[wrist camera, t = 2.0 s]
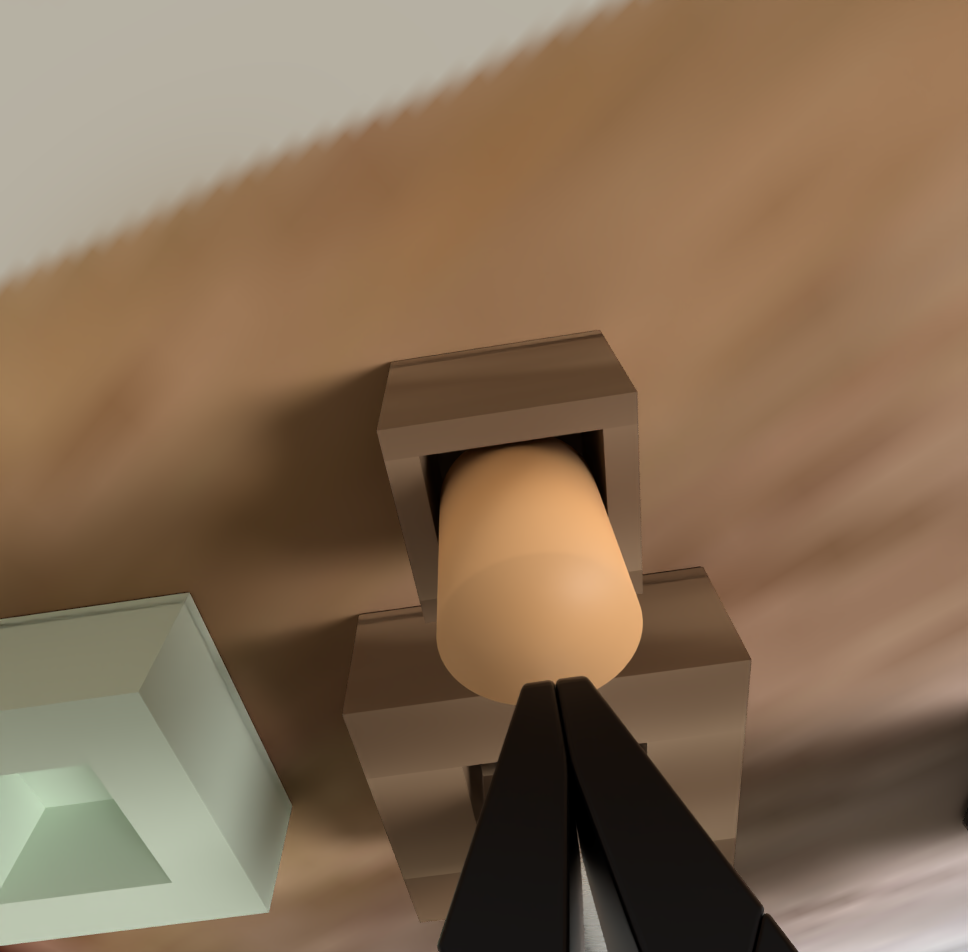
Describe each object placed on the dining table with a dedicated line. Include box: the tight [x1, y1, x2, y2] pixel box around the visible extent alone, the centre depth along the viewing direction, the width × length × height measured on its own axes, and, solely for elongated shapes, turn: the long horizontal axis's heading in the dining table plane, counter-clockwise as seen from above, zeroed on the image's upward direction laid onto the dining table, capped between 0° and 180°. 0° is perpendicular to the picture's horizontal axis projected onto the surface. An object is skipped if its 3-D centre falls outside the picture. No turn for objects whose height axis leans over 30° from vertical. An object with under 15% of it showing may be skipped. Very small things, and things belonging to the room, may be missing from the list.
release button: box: [436, 437, 643, 705], centre depth 11 cm, size 3×3×4 cm
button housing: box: [377, 330, 643, 623], centre depth 14 cm, size 4×4×3 cm
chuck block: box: [342, 567, 751, 922], centre depth 18 cm, size 9×9×3 cm
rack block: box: [0, 592, 292, 946], centre depth 18 cm, size 9×9×3 cm
